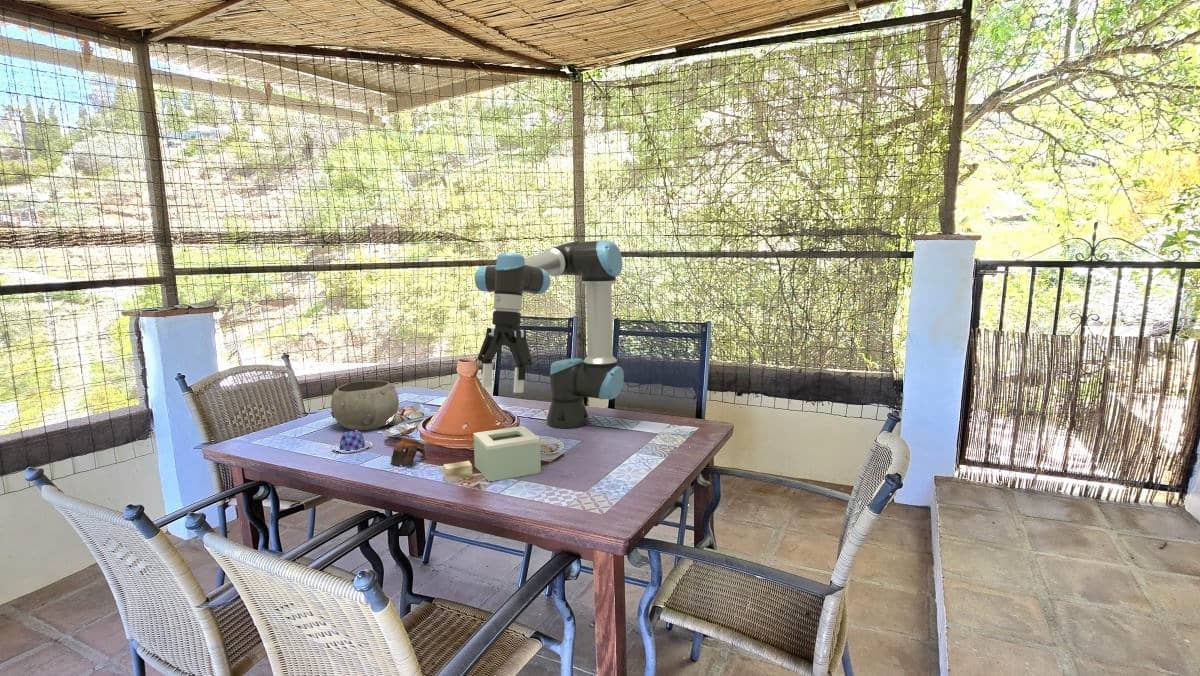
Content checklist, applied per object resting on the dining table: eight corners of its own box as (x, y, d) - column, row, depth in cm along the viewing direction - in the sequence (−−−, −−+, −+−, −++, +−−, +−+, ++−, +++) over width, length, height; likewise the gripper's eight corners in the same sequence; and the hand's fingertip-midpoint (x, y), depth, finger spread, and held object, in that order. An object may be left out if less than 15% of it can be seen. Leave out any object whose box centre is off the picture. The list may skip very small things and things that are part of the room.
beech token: (469, 474, 171) (468, 460, 170) (472, 479, 167) (472, 465, 167) (444, 478, 168) (443, 464, 167) (446, 483, 164) (446, 469, 164)
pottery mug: (385, 462, 183) (395, 436, 185) (415, 471, 186) (425, 445, 189) (393, 463, 172) (404, 435, 175) (425, 473, 176) (435, 445, 179)
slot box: (524, 458, 183) (523, 425, 182) (540, 472, 171) (539, 438, 169) (474, 466, 177) (473, 433, 175) (488, 482, 164) (487, 446, 163)
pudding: (326, 455, 189) (324, 438, 188) (340, 443, 201) (339, 427, 200) (365, 454, 190) (364, 438, 189) (377, 442, 201) (376, 427, 201)
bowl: (344, 417, 232) (341, 379, 229) (406, 415, 234) (403, 377, 232) (323, 435, 209) (320, 392, 207) (392, 432, 211) (389, 390, 209)
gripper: (468, 309, 170) (463, 385, 170) (527, 310, 153) (521, 395, 153) (489, 311, 175) (484, 385, 175) (549, 313, 158) (543, 394, 158)
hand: (501, 390), depth 164 cm, fingers open, 13 cm apart
